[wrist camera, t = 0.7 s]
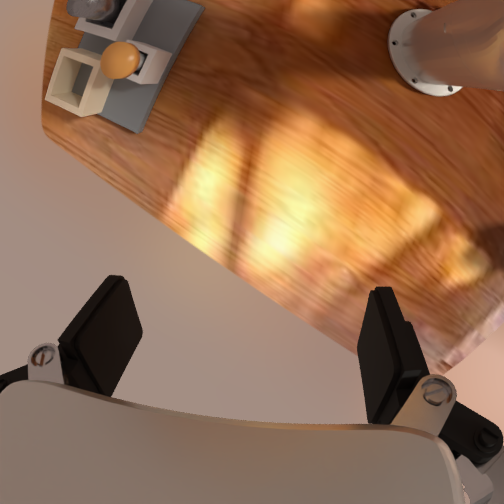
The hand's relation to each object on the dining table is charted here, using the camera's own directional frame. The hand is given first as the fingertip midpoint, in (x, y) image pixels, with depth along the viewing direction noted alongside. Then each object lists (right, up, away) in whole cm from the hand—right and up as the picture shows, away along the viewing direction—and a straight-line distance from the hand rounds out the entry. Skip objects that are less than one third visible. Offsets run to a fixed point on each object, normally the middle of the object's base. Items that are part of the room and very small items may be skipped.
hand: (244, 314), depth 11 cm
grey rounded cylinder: (-18, +35, +19) cm, 44 cm away
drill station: (-18, +31, +23) cm, 42 cm away
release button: (-13, +26, +20) cm, 35 cm away
